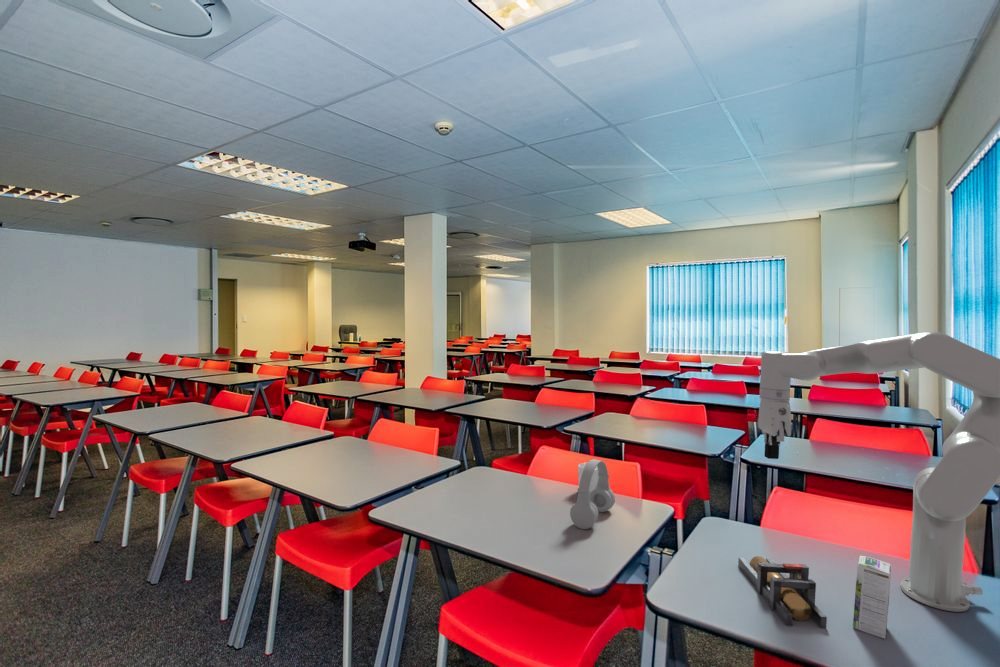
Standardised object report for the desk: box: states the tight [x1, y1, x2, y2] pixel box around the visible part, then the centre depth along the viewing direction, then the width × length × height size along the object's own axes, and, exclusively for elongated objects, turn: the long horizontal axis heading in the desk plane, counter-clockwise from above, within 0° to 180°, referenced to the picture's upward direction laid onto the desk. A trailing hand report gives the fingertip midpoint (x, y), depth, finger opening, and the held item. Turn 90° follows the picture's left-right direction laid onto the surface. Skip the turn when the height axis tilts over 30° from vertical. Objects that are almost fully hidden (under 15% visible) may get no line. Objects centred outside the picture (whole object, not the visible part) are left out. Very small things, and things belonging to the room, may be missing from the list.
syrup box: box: [852, 555, 892, 640], centre depth 106 cm, size 6×6×14 cm
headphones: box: [569, 458, 616, 530], centre depth 159 cm, size 20×8×19 cm, turn 148°
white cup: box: [577, 462, 599, 494], centre depth 182 cm, size 8×8×10 cm
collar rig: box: [737, 556, 828, 629], centre depth 118 cm, size 9×25×9 cm, turn 176°
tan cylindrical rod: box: [749, 555, 811, 622], centre depth 118 cm, size 20×4×4 cm, turn 177°
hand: (771, 457), depth 139 cm, fingers closed
